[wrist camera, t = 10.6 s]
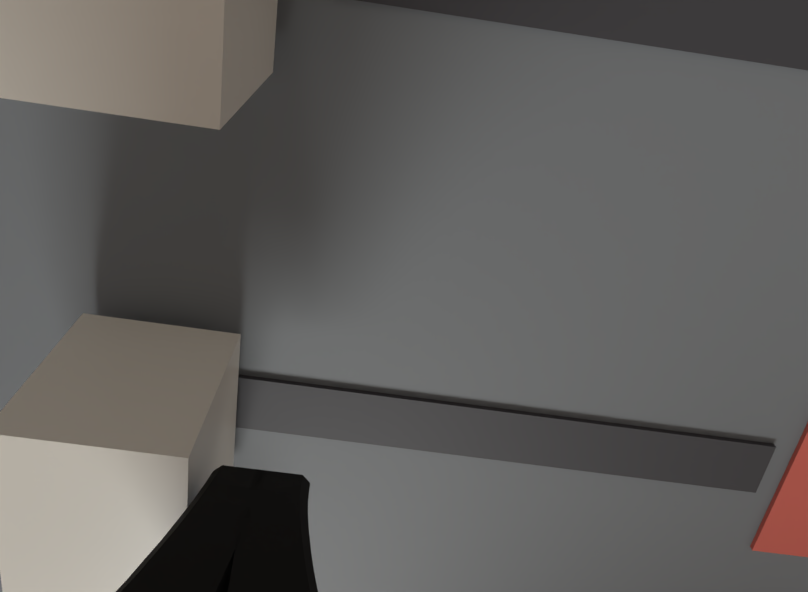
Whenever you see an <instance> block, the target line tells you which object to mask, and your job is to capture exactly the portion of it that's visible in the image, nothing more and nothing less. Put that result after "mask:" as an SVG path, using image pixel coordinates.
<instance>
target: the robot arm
mask: <svg viewBox="0 0 808 592" xmlns="http://www.w3.org/2000/svg"><path fill="white" fill-rule="evenodd" d="M309 488H310V482H309V481H308V480H307V479H306V478H305V477H304V476H303V475H300V474H292V473H283V472H275V471H267V470H258V469H250V468H242V467H233V466H225V465H222V466H220V467H219V468H217V469H215V470H214V471H213V472H212V474H211V475H210V477H209V478H208V480H207V481H206V483H205V484H204V485H203V487H202V488H201V490H200V491H199V492H198V494H197V495H196V497H195V498H194V499H193V501H192V502H191V503H190V505H189V506H188V507H187V509H186V510H185V511H184V512H183V514H182V515H181V516H180V518H179V519H178V520H177V521H176V522H175V524H174V525H173V526H172V527H171V529H170V530H169V531H168V532H167V534H166V535H165V536H164V537H163V539H162V540H161V541H160V542H159V543H158V544H157V546H156V547H155V548H154V549H153V550H152V551H151V552H150V554H149V555H148V556H147V557H146V558H145V559H144V560H143V562H142V563H141V564H140V565H139V566H138V567H137V569H136V570H135V571H134V572H133V573H132V574H131V575H130V577H129V578H128V579H127V580H126V581H125V582H124V583H123V584H122V585H121V587H120V588H119V589H118V590H117V591H116V592H318V589H317V584H316V579H315V574H314V568H313V561H312V554H311V545H310V536H309V524H308V497H309Z"/></svg>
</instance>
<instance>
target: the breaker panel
mask: <svg viewBox="0 0 808 592" xmlns="http://www.w3.org/2000/svg"><path fill="white" fill-rule="evenodd" d="M83 313H85V314H92V315H100V316H107V317H115V318H123V319H130V320H138V321H145V322H153V323H160V324H168V325H176V326H183V327H191V328H198V329H206V330H213V331H221V332H228V333H236V334H241V339H240V356H239V374H238V392H237V410H236V428H235V446H234V463H233V467H242V468H250V469H258V470H267V471H275V472H283V473H292V474H300V475H303V476H304V477H305V478H306V479H307V480H308V481H309V482H310V488H309V497H308V524H309V536H310V545H311V554H312V561H313V568H314V574H315V579H316V584H317V589H318V592H808V0H278V3H277V18H276V34H275V49H274V64H273V73H272V74H271V75H270V76H269V77H268V78H267V79H266V80H265V81H264V82H263V84H262V85H261V86H260V87H259V88H258V89H257V90H256V91H255V92H254V93H253V94H252V96H251V97H250V98H249V99H248V100H247V101H246V102H245V103H244V104H243V105H242V106H241V107H240V109H239V110H238V111H237V112H236V113H235V114H234V115H233V116H232V117H231V118H230V119H229V121H228V122H227V123H226V124H225V125H224V126H223V127H222V128H221V129H220V130H217V129H210V128H203V127H197V126H190V125H183V124H176V123H169V122H162V121H155V120H148V119H142V118H135V117H128V116H121V115H114V114H107V113H100V112H93V111H87V110H80V109H73V108H66V107H59V106H52V105H45V104H38V103H32V102H25V101H18V100H11V99H4V98H0V411H1V410H2V409H3V408H4V407H5V405H6V404H7V403H8V402H9V401H10V399H11V398H12V397H13V396H14V395H15V393H16V392H17V391H18V390H19V389H20V388H21V386H22V385H23V384H24V383H25V382H26V380H27V379H28V378H29V377H30V376H31V374H32V373H33V372H34V371H35V370H36V368H37V367H38V366H39V365H40V364H41V363H42V361H43V360H44V359H45V358H46V357H47V355H48V354H49V353H50V352H51V351H52V349H53V348H54V347H55V346H56V345H57V343H58V342H59V341H60V340H61V339H62V338H63V336H64V335H65V334H66V333H67V332H68V330H69V329H70V328H71V327H72V326H73V324H74V323H75V322H76V321H77V320H78V318H79V317H80V316H81V315H82V314H83ZM0 592H2V584H1V576H0Z"/></svg>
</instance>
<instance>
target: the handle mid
mask: <svg viewBox="0 0 808 592" xmlns="http://www.w3.org/2000/svg"><path fill="white" fill-rule="evenodd" d="M240 339H241V334H236V333H228V332H221V331H213V330H206V329H198V328H191V327H183V326H176V325H168V324H160V323H153V322H145V321H138V320H130V319H123V318H115V317H107V316H100V315H92V314H85V313H83V314H82V315H81V316H80V317H79V318H78V320H77V321H76V322H75V323H74V324H73V326H72V327H71V328H70V329H69V330H68V332H67V333H66V334H65V335H64V336H63V338H62V339H61V340H60V341H59V342H58V343H57V345H56V346H55V347H54V348H53V349H52V351H51V352H50V353H49V354H48V355H47V357H46V358H45V359H44V360H43V361H42V363H41V364H40V365H39V366H38V367H37V368H36V370H35V371H34V372H33V373H32V374H31V376H30V377H29V378H28V379H27V380H26V382H25V383H24V384H23V385H22V386H21V388H20V389H19V390H18V391H17V392H16V393H15V395H14V396H13V397H12V398H11V399H10V401H9V402H8V403H7V404H6V405H5V407H4V408H3V409H2V410H1V411H0V576H1V584H2V592H116V591H117V590H118V589H119V588H120V587H121V585H122V584H123V583H124V582H125V581H126V580H127V579H128V578H129V577H130V575H131V574H132V573H133V572H134V571H135V570H136V569H137V567H138V566H139V565H140V564H141V563H142V562H143V560H144V559H145V558H146V557H147V556H148V555H149V554H150V552H151V551H152V550H153V549H154V548H155V547H156V546H157V544H158V543H159V542H160V541H161V540H162V539H163V537H164V536H165V535H166V534H167V532H168V531H169V530H170V529H171V527H172V526H173V525H174V524H175V522H176V521H177V520H178V519H179V518H180V516H181V515H182V514H183V512H184V511H185V510H186V509H187V507H188V506H189V505H190V503H191V502H192V501H193V499H194V498H195V497H196V495H197V494H198V492H199V491H200V490H201V488H202V487H203V485H204V484H205V483H206V481H207V480H208V478H209V477H210V475H211V474H212V472H213V471H214V470H215V469H217V468H219V467H220V466H222V465H225V466H233V463H234V446H235V428H236V410H237V392H238V374H239V356H240Z"/></svg>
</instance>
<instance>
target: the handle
mask: <svg viewBox="0 0 808 592" xmlns="http://www.w3.org/2000/svg"><path fill="white" fill-rule="evenodd" d="M277 3H278V0H0V98H4V99H11V100H18V101H25V102H32V103H38V104H45V105H52V106H59V107H66V108H73V109H80V110H87V111H93V112H100V113H107V114H114V115H121V116H128V117H135V118H142V119H148V120H155V121H162V122H169V123H176V124H183V125H190V126H197V127H203V128H210V129H217V130H220V129H221V128H222V127H223V126H224V125H225V124H226V123H227V122H228V121H229V119H230V118H231V117H232V116H233V115H234V114H235V113H236V112H237V111H238V110H239V109H240V107H241V106H242V105H243V104H244V103H245V102H246V101H247V100H248V99H249V98H250V97H251V96H252V94H253V93H254V92H255V91H256V90H257V89H258V88H259V87H260V86H261V85H262V84H263V82H264V81H265V80H266V79H267V78H268V77H269V76H270V75H271V74H272V73H273V64H274V49H275V34H276V18H277Z"/></svg>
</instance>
